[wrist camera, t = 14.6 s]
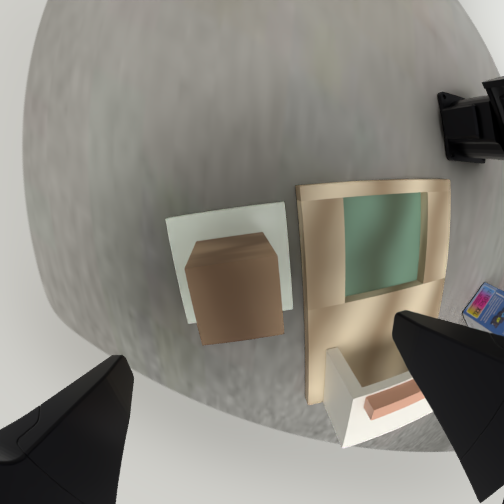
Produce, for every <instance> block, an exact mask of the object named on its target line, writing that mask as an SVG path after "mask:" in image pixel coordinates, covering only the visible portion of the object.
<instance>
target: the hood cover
mask: <svg viewBox="0 0 504 504" xmlns="http://www.w3.org/2000/svg"><path fill="white" fill-rule="evenodd" d="M323 404H324V406H325V408H326V411H327V413H328V416H329V418H330V421H331V423H332V425H333V428H334V430H335V433H336V435H337V438H338V440H339V443H340V445H341V447H342V448H346V447H349V446H353V445H356V444H359V443H362V442H364V441H367V440H370V439H373V438H375V437H378V436H381V435H383V434H386V433H388V432H391V431H393V430H395V429H398V428H400V427H402V426H404V425H407V424H409V423H411V422H413V421H415V420H417V419H419V418H421V417H423V416H425V415H427V414H429V413H431V412H433V410H432V409H431V407H430V405H429V404H428V402H427V400H426V399H425V397H424V395H423V394H422V392H421V390H420V389H419V387H418V385H417V384H416V382H415V381H414V379H413V377H412V376H411V374H410V372H409V371H407V372H405V373H402V374H400V375H397V376H394V377H392V378H389V379H386V380H383V381H380V382H378V383H375V384H372V385H369V386H365V387H361V385H360V383H359V382H358V380H357V378H356V377H355V375H354V373H353V372H352V370H351V368H350V367H349V365H348V363H347V362H346V360H345V359H344V357H343V355H342V354H341V352H340V350H339V349H338V347H336V348H332V349H328V350H326V370H325V386H324V400H323Z"/></svg>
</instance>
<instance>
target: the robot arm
mask: <svg viewBox="0 0 504 504" xmlns="http://www.w3.org/2000/svg"><path fill="white" fill-rule="evenodd" d="M482 84H483V86H484V89H486V91H487V94H488V95H487V96H481V97H475V98H469V99H464V98H461V97H458V96H455V95H452V94H449V93H445V92H440V93H438V98H439V104H440V109H441V115H442V121H443V128H444V136H445V145H446V155H447V158H448V159H449V160H454V161H465V162H474V163H485V159H498V160H504V76H502V77H498V78H495V79H491V80H488V81H484V82H482ZM392 338H393V341H394V343H395V345H396V347H397V349H398V351H399V352H400V355H401V357H402V359H403V361H404V363H405V365H406V367H407V369H408V371H409V372H410V374H411V376H412V377H413V379H414V381H415V382H416V384H417V385H418V387H419V389H420V390H421V392H422V394H423V395H424V397H425V399H426V400H427V402H428V404H429V405H430V407H431V409H432V410H433V412H434V414H435V416H436V417H437V419H438V421H439V423H440V424H441V426H442V428H443V430H444V432H445V433H446V435H447V437H448V439H449V441H450V443H451V445H452V446H453V448H454V450H455V452H456V454H457V456H458V458H459V460H460V462H461V464H462V466H463V468H464V470H465V472H466V474H467V477H468V479H469V481H470V483H471V485H472V487H473V490H474V492H475V494H476V496H477V499H478V500H479V502H480V503H481V502H483V501H484V500H485V499H487V498H488V497H489V496H490V495H492V494H493V493H494V492H496V491H497V490H498V489H499V488H501V487H502V486H503V485H504V336H502V335H498V334H494V333H489V332H486V331H482V330H478V329H475V328H471V327H467V326H463V325H460V324H456V323H452V322H448V321H445V320H441V319H437V318H434V317H430V316H426V315H423V314H419V313H416V312H412V311H408V310H403V311H400V312H397V313H396V314H395V316H394V322H393V329H392ZM133 383H134V376H133V373H132V371H131V369H130V366H129V364H128V362H127V360H126V358H125V357H124V356H123V355H112V356H110V357H109V358H108V359H106V360H105V361H103V362H102V363H100V364H99V365H97V366H96V367H95V368H93V369H92V370H90V371H89V372H87V373H86V374H85V375H83V376H82V377H80V378H79V379H77V380H76V381H74V382H73V383H71V384H70V385H69V386H67V387H66V388H64V389H63V390H61V391H60V392H58V393H57V394H56V395H54V396H53V397H51V398H50V399H48V400H47V401H45V402H44V403H43V404H41V406H38V407H37V408H35V409H34V410H32V411H31V412H29V413H28V414H26V415H25V416H23V417H21V418H20V419H18V420H16V421H15V422H13V423H11V424H9V425H8V426H6V427H4V428H2V429H1V430H0V504H116V496H117V488H118V481H119V474H120V467H121V461H122V455H123V450H124V444H125V439H126V434H127V429H128V424H129V419H130V411H131V401H132V391H133ZM502 504H504V500H503V503H502Z"/></svg>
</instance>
